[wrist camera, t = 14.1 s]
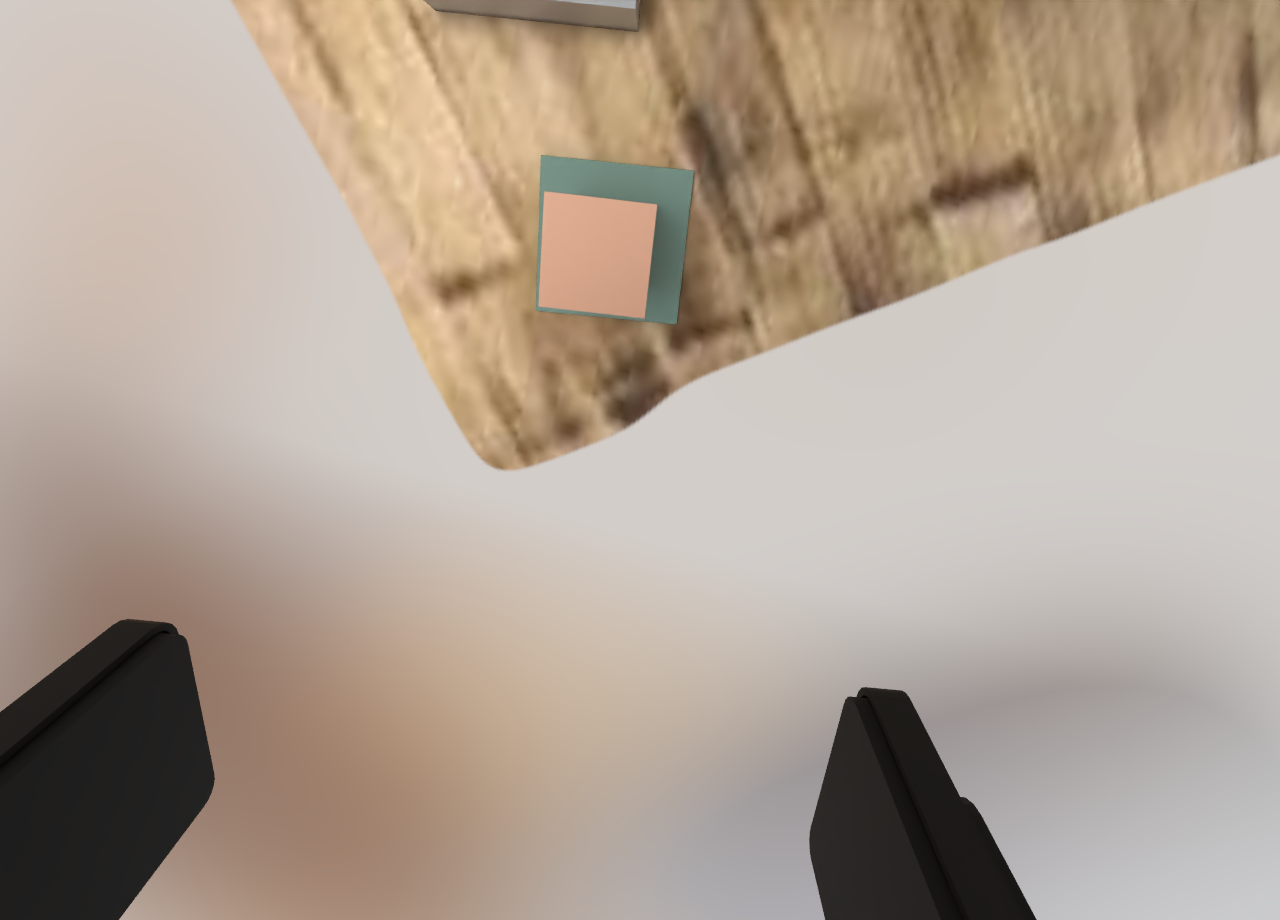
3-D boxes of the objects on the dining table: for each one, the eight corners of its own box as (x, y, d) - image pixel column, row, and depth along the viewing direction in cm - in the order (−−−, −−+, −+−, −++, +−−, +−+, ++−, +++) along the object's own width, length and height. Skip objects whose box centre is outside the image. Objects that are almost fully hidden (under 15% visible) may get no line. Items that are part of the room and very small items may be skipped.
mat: (693, 171, 34) (693, 170, 34) (676, 322, 37) (676, 324, 37) (542, 155, 34) (541, 155, 34) (537, 309, 37) (535, 310, 37)
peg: (657, 204, 34) (657, 204, 25) (647, 288, 36) (644, 318, 27) (574, 194, 34) (544, 191, 25) (569, 279, 36) (538, 306, 27)
